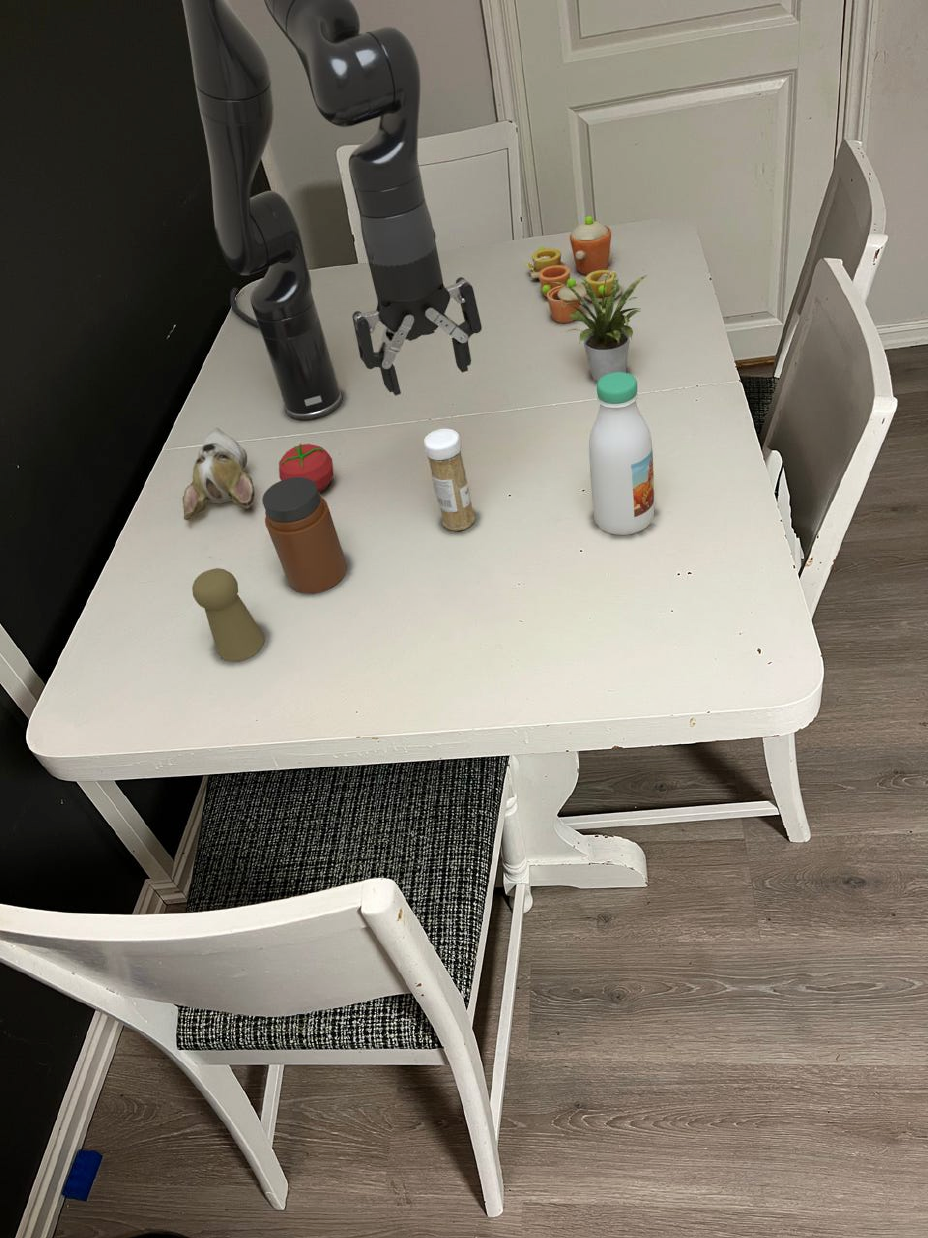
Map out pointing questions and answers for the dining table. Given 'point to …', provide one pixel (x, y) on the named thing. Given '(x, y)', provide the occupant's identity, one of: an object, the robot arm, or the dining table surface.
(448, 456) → the spice jar
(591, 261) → the toy tea set
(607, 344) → the house plant
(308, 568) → the amber bottle
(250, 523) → the dining table surface
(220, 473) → the ceramic sculpture
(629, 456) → the milk bottle
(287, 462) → the tomato
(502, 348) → the dining table surface
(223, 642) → the cork
